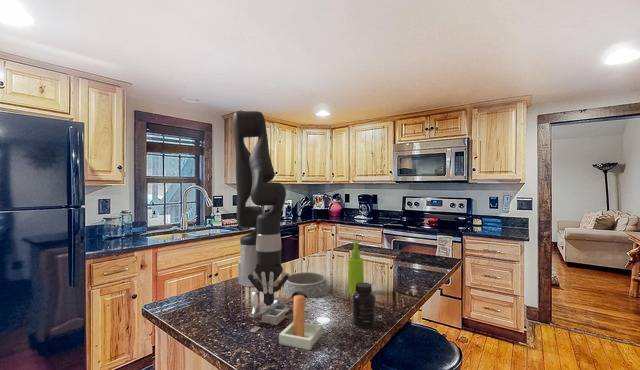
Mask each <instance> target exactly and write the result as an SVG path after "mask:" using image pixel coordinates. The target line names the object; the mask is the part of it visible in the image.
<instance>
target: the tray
mask: <svg viewBox="0 0 640 370" xmlns="http://www.w3.org/2000/svg"><path fill="white" fill-rule="evenodd" d="M323 329H324V328H323V325H322V324H314V323H308V322H304V337H300V336H294V335H293V321H292V322H291V323H290V324H289V325H288V326H286V328H284V329H283V330H282V331H281V332H280V333H279V334H278V344H279V345H282V346H288V347H293V348H296V349H301V350H305V351H306V350H307V351H311V350H312V349H313V348H314V346H315V345H316V343H318V341H319V340H320V338H321V337H322V336H323V335H324V334H323V331H324V330H323Z"/></svg>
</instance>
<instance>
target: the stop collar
mask: <svg viewBox="0 0 640 370" xmlns="http://www.w3.org/2000/svg"><path fill="white" fill-rule="evenodd" d="M285 318H286V314H285V311H284V310H278V309H270V310H269V311H267V312H265V313H263V314H261V323H265V324H271V325H279V324H280V323H281V322H282V321H283V320H284V319H285Z"/></svg>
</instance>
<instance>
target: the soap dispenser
mask: <svg viewBox="0 0 640 370" xmlns="http://www.w3.org/2000/svg"><path fill="white" fill-rule="evenodd" d="M360 243H362V241H361V240H354V241H352V245H353V249H351V257H349V258H348V259H347V260H348V265H347V266H348V269H347V271H348V294H349V295H352V294H354V293H355V292H356V284H357V283H360V282H365V280H364V275H365V274H364V267H365V266H364V258H362V257H361V249H359V244H360Z"/></svg>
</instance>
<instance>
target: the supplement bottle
mask: <svg viewBox="0 0 640 370" xmlns="http://www.w3.org/2000/svg"><path fill="white" fill-rule="evenodd" d="M372 292H373V287H372V284H371V283H370V282H365V281H364V282H360V283H357V284H356V292H355V293H354V294H353V295H352V324H353V325H354V326H355V327H356V328H359V329H363V330H365V329H372V328H373V327H375V325H376V297H375V294H374V293H372Z"/></svg>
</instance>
